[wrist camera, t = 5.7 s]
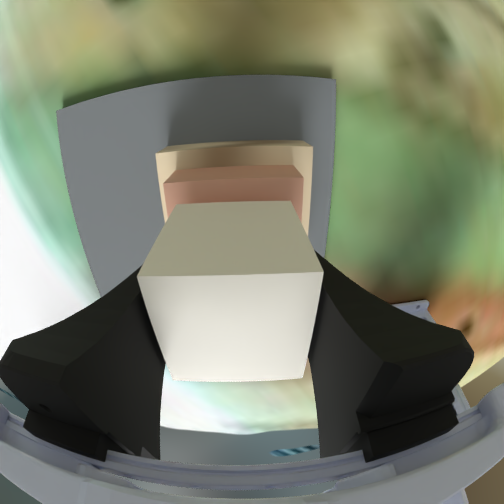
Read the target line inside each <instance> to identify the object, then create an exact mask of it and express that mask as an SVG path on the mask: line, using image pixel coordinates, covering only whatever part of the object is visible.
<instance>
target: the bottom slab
mask: <svg viewBox="0 0 504 504" xmlns="http://www.w3.org/2000/svg"><path fill="white" fill-rule="evenodd" d="M155 154H156V163H157V172H158V180H159V187H160V194H161V201H162V208H163V214H164V220H165V223H166V221H167V219H168V215H167V209H166V202H165V195H164V187H163V183H164V182H165V181H166V180H167V179H168V178H169V177H170V176H171V175H172V173H173V172H174V171H175V170H182V169H195V168H209V167H227V166H255V165H294V166H295V168H296V169H297V170H298V171H299V172H300V174H301V175H302V176H303V177H304V185H303V205H302V222H301V223H302V225H303V228H304V230H305V232H306V234H307V236H308V230H309V216H310V202H311V185H312V164H313V146H311V145H309V144H308V143H306V142H304V141H301V140H248V141H224V142H208V143H195V144H184V145H174V146H167V147H165V148H164V149H162V150H160V151H159V152H157V153H155Z"/></svg>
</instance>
